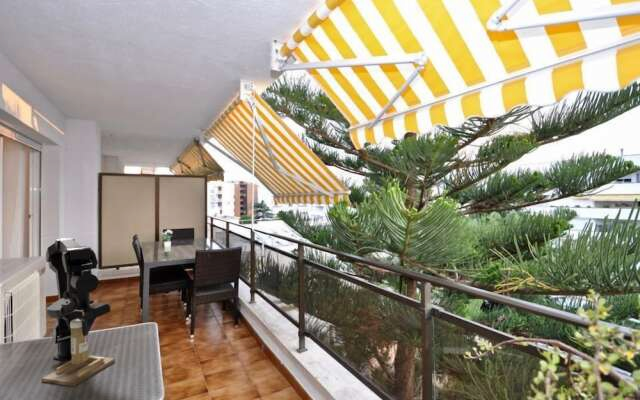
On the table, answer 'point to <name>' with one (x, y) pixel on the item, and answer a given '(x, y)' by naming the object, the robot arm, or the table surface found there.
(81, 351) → the sprinkles bottle
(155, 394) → the table surface
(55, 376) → the bottle cradle
